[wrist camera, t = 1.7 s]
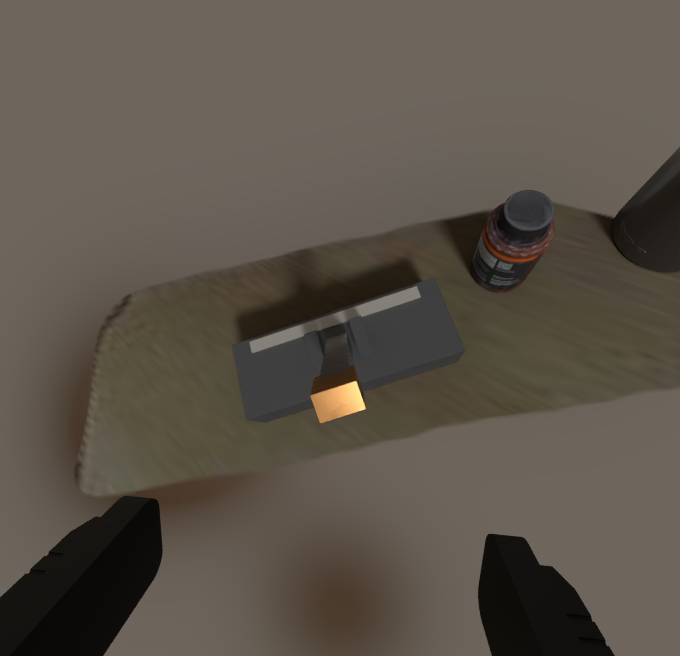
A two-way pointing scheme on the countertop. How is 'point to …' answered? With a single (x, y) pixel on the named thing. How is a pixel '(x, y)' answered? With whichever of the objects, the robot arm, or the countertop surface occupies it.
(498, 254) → the supplement bottle
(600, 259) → the countertop surface
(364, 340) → the block
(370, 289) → the countertop surface
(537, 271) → the countertop surface
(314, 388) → the lever
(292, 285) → the countertop surface
